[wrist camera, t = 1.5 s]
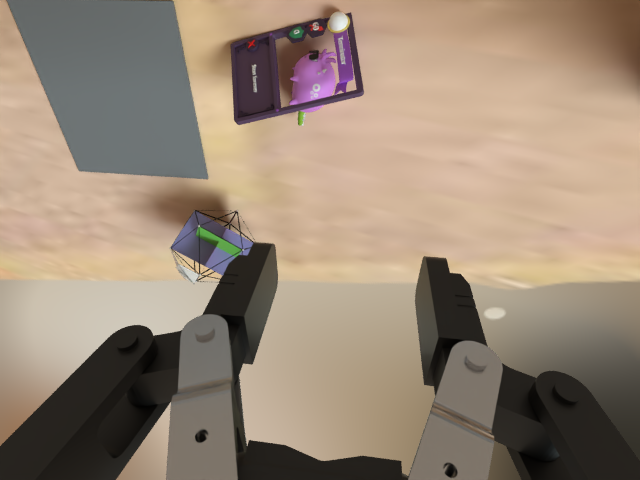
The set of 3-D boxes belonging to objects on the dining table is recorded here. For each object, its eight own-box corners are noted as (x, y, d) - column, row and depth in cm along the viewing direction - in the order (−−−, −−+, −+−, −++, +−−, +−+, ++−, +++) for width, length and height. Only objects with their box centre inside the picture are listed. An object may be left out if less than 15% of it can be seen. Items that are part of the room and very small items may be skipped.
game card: (225, 35, 26) (349, -1, 25) (254, 82, 31) (358, 55, 30) (229, 116, 25) (362, 84, 23) (259, 152, 29) (370, 128, 28)
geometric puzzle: (212, 179, 34) (174, 226, 28) (275, 216, 36) (253, 269, 30) (187, 229, 38) (149, 280, 32) (245, 260, 40) (219, 315, 34)
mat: (173, 0, 26) (172, 1, 26) (208, 178, 34) (207, 179, 34) (8, -2, 27) (6, -1, 27) (80, 170, 36) (79, 171, 36)
